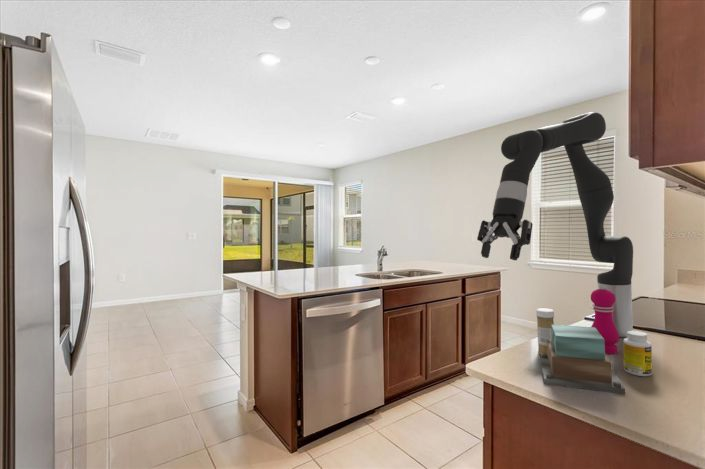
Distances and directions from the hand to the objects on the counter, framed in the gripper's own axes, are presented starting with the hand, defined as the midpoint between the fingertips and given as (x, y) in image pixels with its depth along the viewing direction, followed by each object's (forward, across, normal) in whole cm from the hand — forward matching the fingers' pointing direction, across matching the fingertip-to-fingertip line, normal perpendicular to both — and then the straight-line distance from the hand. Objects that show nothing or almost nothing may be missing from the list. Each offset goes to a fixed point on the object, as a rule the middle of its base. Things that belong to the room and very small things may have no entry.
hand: (498, 258), depth 91 cm
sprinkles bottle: (+22, -1, -29) cm, 37 cm away
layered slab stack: (+24, -13, -22) cm, 35 cm away
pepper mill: (+17, -10, -44) cm, 48 cm away
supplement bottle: (+20, -22, -34) cm, 45 cm away
